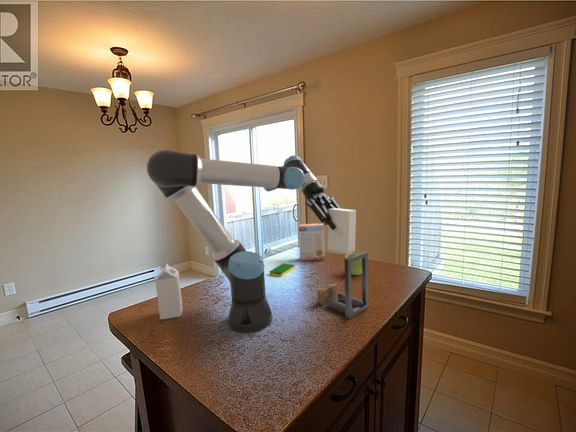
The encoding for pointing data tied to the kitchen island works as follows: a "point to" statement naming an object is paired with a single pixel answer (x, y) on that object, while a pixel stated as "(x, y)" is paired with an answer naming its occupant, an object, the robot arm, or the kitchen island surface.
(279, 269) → the dish sponge
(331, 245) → the white block
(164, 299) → the milk carton
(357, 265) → the plant pot
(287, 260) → the kitchen island surface
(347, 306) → the frame
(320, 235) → the cracker box
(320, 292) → the offcut stack
